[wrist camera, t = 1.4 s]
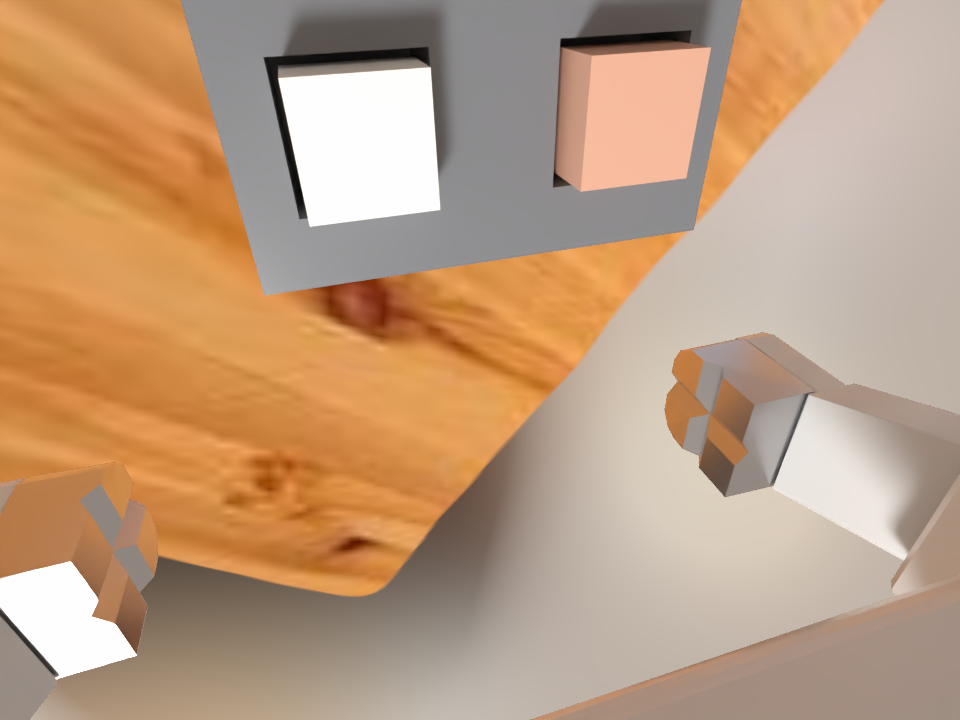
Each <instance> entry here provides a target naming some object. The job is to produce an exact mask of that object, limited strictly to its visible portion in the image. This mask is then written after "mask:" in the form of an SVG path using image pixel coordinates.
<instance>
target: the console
mask: <svg viewBox="0 0 960 720" xmlns="http://www.w3.org/2000/svg"><path fill="white" fill-rule="evenodd" d="M741 1H742V0H181V3H182V7H183V11H184V14H185V18H186V21H187V25H188V28H189V32H190V35H191V39H192V42H193V46H194V49H195V53H196V56H197V60H198V63H199V67H200V70H201V74H202V77H203V81H204V84H205V88H206V92H207V95H208V99H209V102H210V106H211V109H212V113H213V116H214V120H215V123H216V127H217V130H218V134H219V137H220V141H221V144H222V148H223V151H224V155H225V158H226V162H227V166H228V169H229V173H230V176H231V180H232V183H233V187H234V190H235V194H236V197H237V201H238V204H239V208H240V211H241V215H242V218H243V222H244V225H245V229H246V232H247V236H248V239H249V243H250V247H251V250H252V254H253V257H254V261H255V264H256V268H257V271H258V275H259V278H260V282H261V285H262V289H263V292H264V295H271V294H278V293H284V292H291V291H297V290H304V289H310V288H317V287H323V286H330V285H336V284H343V283H350V282H356V281H363V280H369V279H376V278H382V277H389V276H395V275H402V274H409V273H415V272H422V271H428V270H435V269H441V268H448V267H454V266H461V265H468V264H474V263H481V262H487V261H494V260H500V259H507V258H513V257H520V256H527V255H533V254H540V253H546V252H553V251H559V250H566V249H572V248H579V247H585V246H592V245H599V244H605V243H612V242H618V241H625V240H631V239H638V238H644V237H651V236H658V235H664V234H671V233H677V232H684V231H690V230H694V226H695V221H696V216H697V212H698V207H699V202H700V197H701V192H702V188H703V183H704V178H705V173H706V169H707V164H708V159H709V154H710V149H711V145H712V140H713V135H714V130H715V126H716V121H717V116H718V111H719V106H720V102H721V97H722V92H723V87H724V83H725V78H726V73H727V68H728V63H729V59H730V54H731V49H732V44H733V40H734V35H735V30H736V25H737V20H738V16H739V11H740V6H741ZM654 40H673V41H679V42H684V43H690V44H696V45H701V46H707V47H711V51H710V56H709V62H708V67H707V72H706V77H705V83H704V88H703V93H702V98H701V104H700V109H699V114H698V119H697V125H696V130H695V135H694V140H693V146H692V151H691V156H690V161H689V167H688V172H687V177H686V178H684V179H676V180H669V181H661V182H653V183H645V184H638V185H630V186H622V187H614V188H607V189H599V190H591V191H583V192H580V191H579V190H578V189H576V188H575V187H574V186H572V185H571V184H569V183H568V182H567V181H565V180H564V179H563V178H561V177H560V176H559V175H557V174H556V173H555V172H554V154H555V135H556V116H557V96H558V77H559V58H560V47H564V46H579V45H594V44H609V43H624V42H639V41H654ZM399 57H415V58H417V59H418V60H420V61H422V62H423V63H425V64H426V65H428V66H429V67H431V80H432V95H433V110H434V124H435V139H436V154H437V168H438V183H439V198H440V210H436V211H428V212H421V213H413V214H405V215H397V216H390V217H382V218H374V219H366V220H359V221H351V222H343V223H335V224H328V225H320V226H312V227H310V226H309V221H308V216H307V212H306V207H305V202H304V197H303V193H302V188H301V183H300V179H299V174H298V169H297V165H296V160H295V155H294V150H293V146H292V141H291V136H290V132H289V127H288V122H287V118H286V113H285V108H284V103H283V99H282V94H281V89H280V85H279V80H278V66H279V65H294V64H309V63H324V62H339V61H354V60H369V59H384V58H399Z"/></svg>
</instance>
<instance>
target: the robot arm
mask: <svg viewBox="0 0 960 720" xmlns="http://www.w3.org/2000/svg"><path fill="white" fill-rule="evenodd" d="M672 373H673V375H674V376H675V378H676V379H677V381H678V382H677V383H676V384H675V385H674V387H673V388H672V389H671V390H670V392H669V393H668V394H667V399H666V405H665V415H666V420H667V425H668V428H669V430H670V431H671V433H672V436H673V438H674V439H675V440H676V441H677V443H678V444H679V445H680V446H681V447H682V448H683V449H685V450H687V451H689V452H691V453H694V454H696V455H698V456H699V468H700V469H701V470H702V471H703V473H704V474H705V475H706V476H707V477H708V478H709V480H710V481H711V482H712V483H713V484H714V485H715V486H716V488H717V489H718V490H719V491H720V492H721V493H722V494H723V495H724V497H728V496H732V495H736V494H741V493H745V492H749V491H753V490H758V489H761V488H766V487H770V486H773V489H774V490H776V491H778V492H780V493H782V494H783V495H785V496H787V497H789V498H791V499H792V500H794V501H796V502H798V503H800V504H801V505H803V506H805V507H807V508H809V509H811V510H812V511H814V512H816V513H818V514H820V515H821V516H823V517H825V518H827V519H829V520H831V521H832V522H834V523H836V524H838V525H840V526H841V527H843V528H845V529H847V530H849V531H851V532H852V533H854V534H856V535H858V536H860V537H861V538H863V539H865V540H867V541H869V542H871V543H872V544H874V545H876V546H878V547H880V548H881V549H883V550H885V551H887V552H889V553H890V554H892V555H894V556H896V557H898V558H900V559H901V560H904V561H903V563H902V564H901V566H900V568H899V569H898V571H897V572H896V574H895V575H894V577H893V579H892V580H891V590H892V591H893V592H894V593H895V594H896V596H894V597H891V598H888V599H885V600H882V601H880V602H876V603H873V604H871V605H868V606H865V607H862V608H859V609H856V610H853V611H850V612H847V613H844V614H841V615H838V616H835V617H832V618H829V619H827V620H823V621H821V622H818V623H814V624H811V625H809V626H806V627H803V628H800V629H797V630H794V631H791V632H788V633H785V634H782V635H779V636H776V637H773V638H770V639H767V640H764V641H762V642H758V643H755V644H753V645H750V646H747V647H744V648H741V649H738V650H735V651H732V652H729V653H726V654H723V655H720V656H717V657H714V658H711V659H708V660H705V661H702V662H699V663H697V664H693V665H690V666H688V667H685V668H682V669H679V670H676V671H673V672H670V673H667V674H664V675H661V676H658V677H655V678H652V679H649V680H646V681H643V682H640V683H637V684H635V685H631V686H629V687H626V688H623V689H620V690H617V691H614V692H611V693H608V694H605V695H602V696H599V697H596V698H593V699H590V700H587V701H585V702H581V703H578V704H575V705H573V706H570V707H567V708H564V709H561V710H558V711H555V712H552V713H549V714H546V715H543V716H540V717H537V718H534V719H531V720H960V415H959V414H955V413H952V412H949V411H945V410H942V409H939V408H935V407H932V406H928V405H925V404H922V403H918V402H915V401H911V400H908V399H905V398H901V397H898V396H895V395H891V394H888V393H884V392H881V391H878V390H874V389H870V388H868V387H864V386H861V385H857V384H851V385H845V384H844V383H842V382H840V381H839V380H838V379H836V378H835V377H833V376H832V375H831V374H829V373H828V372H826V371H825V370H823V369H822V368H820V367H819V366H818V365H816V364H815V363H813V362H812V361H811V360H809V359H808V358H806V357H805V356H803V355H802V354H800V353H799V352H797V351H796V350H795V349H793V348H792V347H790V346H789V345H788V344H786V343H785V342H783V341H782V340H780V339H779V338H778V337H776V336H775V335H772V334H768V333H764V332H762V333H758V334H753V335H749V336H744V337H740V338H736V339H735V340H730V341H725V342H721V343H716V344H711V345H706V346H701V347H696V348H691V349H686V350H681V351H680V352H679V354H678V355H677V357H676V358H675V360H674V365H673V369H672ZM133 485H134V483H133V481H132V479H131V477H130V476H129V474H128V472H127V471H126V469H125V467H124V466H123V465H121V464H118V463H115V462H112V463H106V464H100V465H95V466H89V467H83V468H78V469H72V470H66V471H61V472H55V473H50V474H44V475H38V476H33V477H28V478H26V479H18V480H13V481H7V482H2V483H0V720H30V719H31V717H32V716H33V715H34V713H35V712H36V711H37V710H38V708H39V707H40V706H41V704H42V703H43V702H44V700H45V699H46V698H47V697H48V695H49V694H50V693H51V691H52V690H53V689H54V688H55V686H56V685H57V684H58V680H57V678H60V677H64V676H67V675H70V674H74V673H77V672H81V671H84V670H87V669H91V668H94V667H98V666H101V665H104V664H108V663H111V662H115V661H118V660H122V659H125V658H128V657H131V656H135V655H136V654H137V650H138V645H139V641H140V637H141V633H142V628H143V624H144V620H145V615H146V611H147V604H146V603H145V601H144V600H143V598H142V596H141V594H140V593H139V592H140V591H141V590H142V589H143V588H144V587H145V586H146V585H147V583H148V582H149V581H150V580H151V579H152V578H153V577H154V575H155V570H156V565H157V560H158V539H157V532H156V529H155V525H154V521H153V519H152V517H151V515H150V513H149V511H148V509H147V507H146V506H144V505H142V504H140V503H137V502H135V501H133V500H131V499H129V498H130V495H131V492H132V488H133Z"/></svg>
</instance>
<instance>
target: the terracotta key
mask: <svg viewBox="0 0 960 720" xmlns="http://www.w3.org/2000/svg"><path fill="white" fill-rule="evenodd" d="M710 51H711V47H707V46H701V45H696V44H690V43H684V42H679V41H673V40H654V41H639V42H624V43H609V44H594V45H579V46H564V47H560V58H559V77H558V96H557V116H556V135H555V154H554V172H555V173H556V174H557V175H559V176H560V177H561V178H563V179H564V180H565V181H567V182H568V183H569V184H571V185H572V186H574V187H575V188H576V189H578V190H579V191H580V192H583V191H591V190H599V189H607V188H614V187H622V186H630V185H638V184H645V183H653V182H661V181H669V180H676V179H684V178H686V177H687V172H688V167H689V161H690V156H691V151H692V146H693V140H694V135H695V130H696V125H697V119H698V114H699V109H700V104H701V98H702V93H703V88H704V83H705V77H706V72H707V67H708V62H709V56H710Z"/></svg>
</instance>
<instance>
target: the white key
mask: <svg viewBox="0 0 960 720" xmlns="http://www.w3.org/2000/svg"><path fill="white" fill-rule="evenodd" d="M278 80H279V85H280V89H281V94H282V99H283V103H284V108H285V113H286V118H287V122H288V127H289V132H290V136H291V141H292V146H293V150H294V155H295V160H296V165H297V169H298V174H299V179H300V183H301V188H302V193H303V197H304V202H305V207H306V212H307V216H308V221H309V226H310V227H312V226H320V225H328V224H335V223H343V222H351V221H359V220H366V219H374V218H382V217H390V216H397V215H405V214H413V213H421V212H428V211H436V210H440V198H439V183H438V168H437V154H436V139H435V124H434V110H433V95H432V80H431V67H429V66H428V65H426V64H425V63H423V62H422V61H420V60H418V59H417V58H415V57H399V58H384V59H369V60H354V61H339V62H324V63H309V64H294V65H279V66H278Z"/></svg>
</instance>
